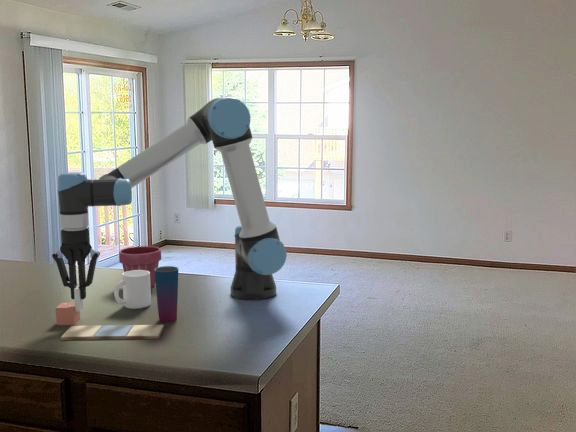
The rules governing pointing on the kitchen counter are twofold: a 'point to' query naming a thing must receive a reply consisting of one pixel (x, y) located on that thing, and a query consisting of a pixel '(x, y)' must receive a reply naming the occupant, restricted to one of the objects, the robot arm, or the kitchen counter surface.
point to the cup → (167, 292)
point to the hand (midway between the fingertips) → (79, 309)
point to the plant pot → (141, 259)
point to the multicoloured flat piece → (113, 332)
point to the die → (66, 314)
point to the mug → (134, 289)
